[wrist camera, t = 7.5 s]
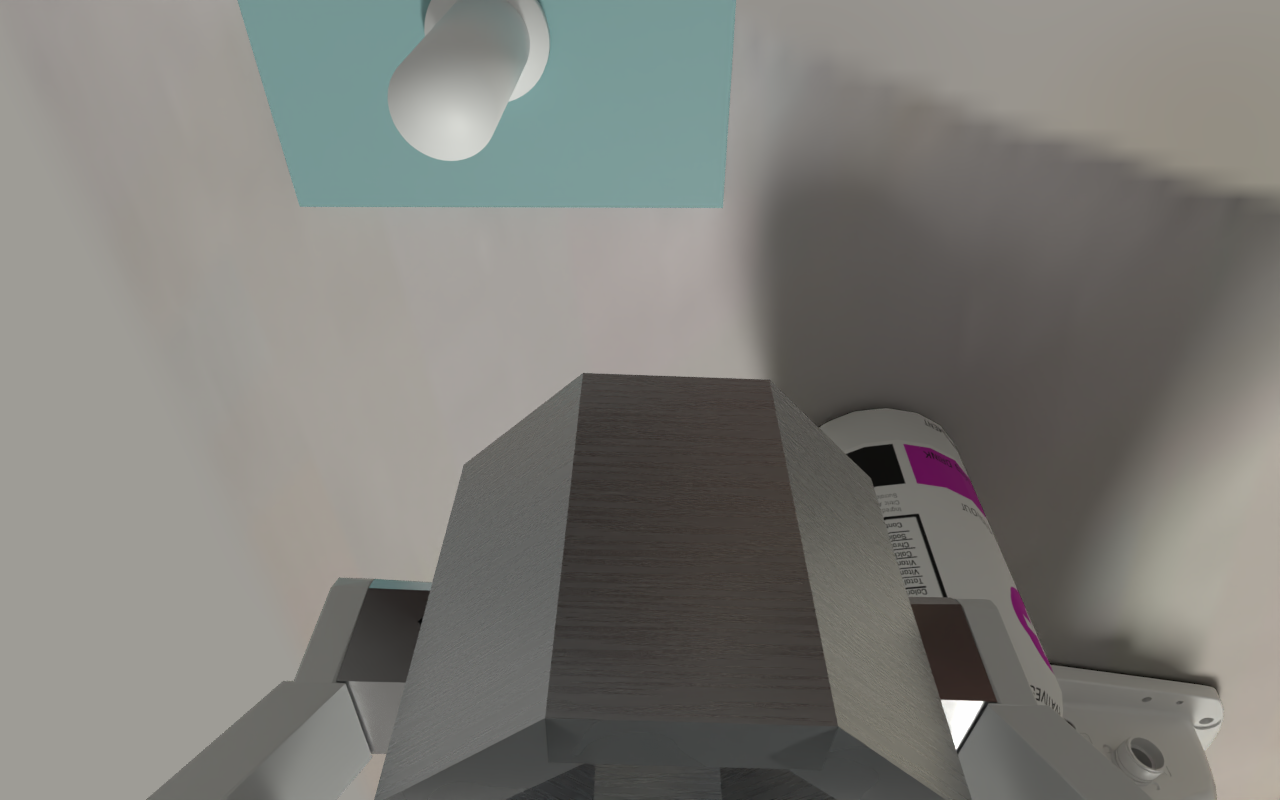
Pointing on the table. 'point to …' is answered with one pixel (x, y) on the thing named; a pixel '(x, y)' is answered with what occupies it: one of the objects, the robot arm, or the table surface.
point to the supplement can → (940, 524)
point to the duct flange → (498, 100)
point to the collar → (668, 614)
